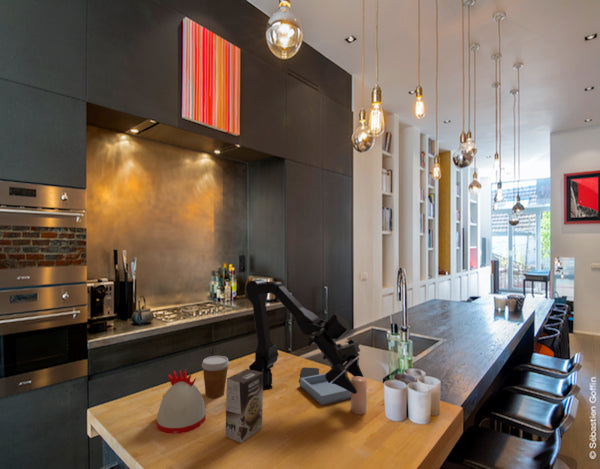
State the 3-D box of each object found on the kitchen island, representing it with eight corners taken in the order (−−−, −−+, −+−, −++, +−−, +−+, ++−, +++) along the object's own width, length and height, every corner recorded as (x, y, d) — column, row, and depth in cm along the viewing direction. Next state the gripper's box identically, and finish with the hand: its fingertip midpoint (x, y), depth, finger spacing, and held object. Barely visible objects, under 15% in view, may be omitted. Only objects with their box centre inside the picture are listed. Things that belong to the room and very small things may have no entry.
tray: (321, 405, 112) (322, 396, 112) (299, 386, 126) (300, 378, 126) (360, 395, 119) (360, 387, 120) (335, 378, 134) (335, 371, 134)
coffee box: (242, 444, 90) (243, 383, 91) (224, 436, 94) (225, 377, 94) (263, 428, 98) (264, 372, 98) (246, 421, 101) (247, 367, 102)
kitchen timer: (168, 408, 109) (169, 361, 109) (211, 409, 108) (212, 362, 108) (147, 433, 95) (149, 379, 95) (196, 435, 94) (197, 380, 94)
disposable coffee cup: (195, 397, 116) (195, 362, 117) (212, 386, 125) (212, 353, 125) (218, 402, 113) (218, 366, 113) (234, 391, 122) (234, 357, 122)
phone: (298, 382, 129) (301, 367, 144) (298, 384, 129) (301, 369, 144) (318, 383, 129) (319, 368, 143) (318, 385, 129) (319, 370, 143)
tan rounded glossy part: (357, 415, 106) (357, 383, 106) (347, 408, 110) (348, 377, 110) (369, 412, 108) (370, 380, 108) (360, 405, 113) (360, 375, 113)
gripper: (334, 340, 103) (370, 383, 98) (353, 326, 120) (384, 363, 115) (311, 361, 107) (344, 405, 102) (332, 345, 124) (362, 382, 118)
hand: (360, 387), depth 109 cm, fingers open, 9 cm apart
